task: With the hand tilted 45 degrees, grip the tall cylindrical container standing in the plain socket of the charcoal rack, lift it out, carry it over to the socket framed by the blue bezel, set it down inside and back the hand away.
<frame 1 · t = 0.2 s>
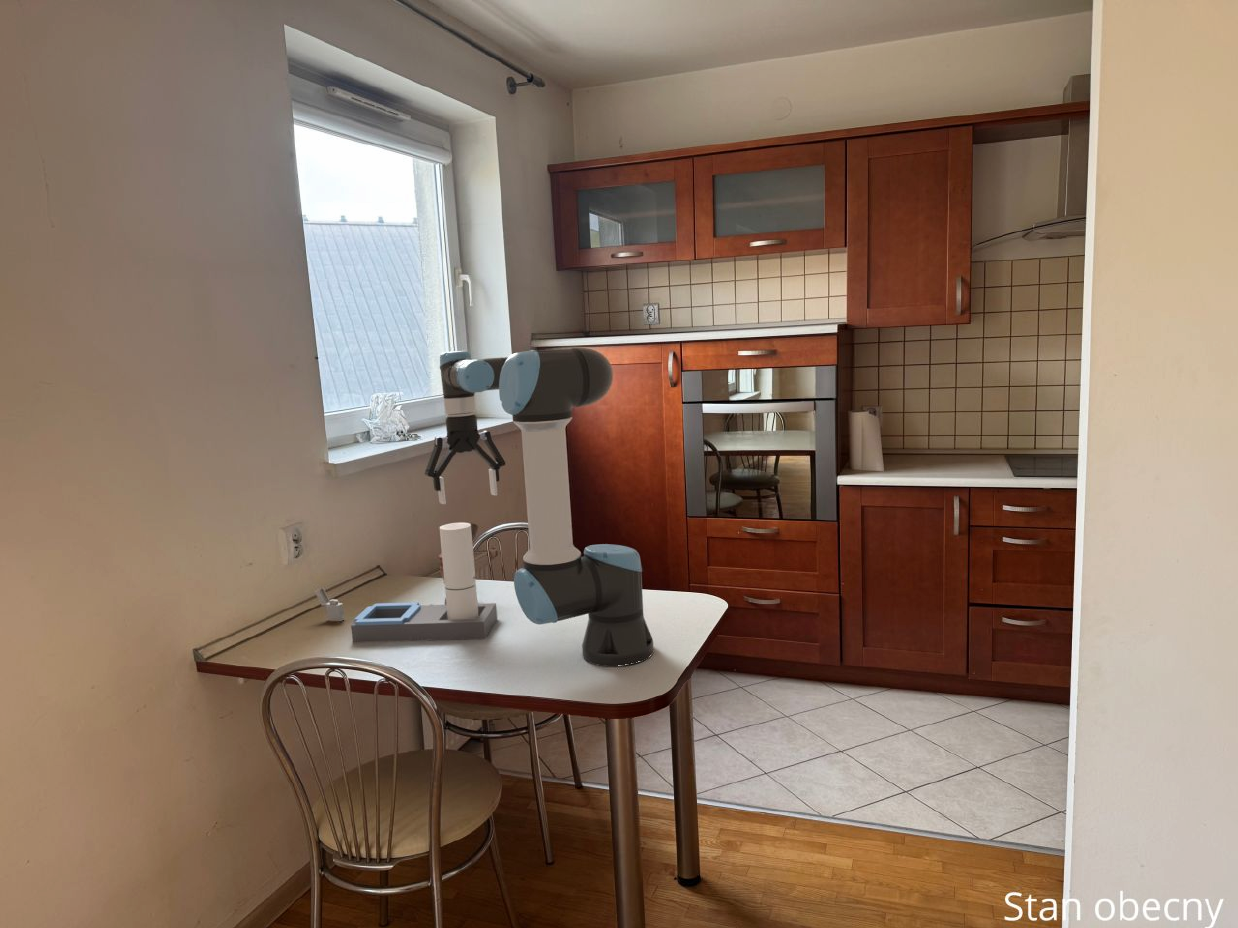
hand: (468, 499, 211), 28 cm above the table, tool pointing down, fingers open, 13 cm apart
mortar and pestle: (463, 601, 221), on the table
socket rack: (426, 630, 200), on the table
cylindrical container: (464, 630, 199), resting in socket rack
lighter: (331, 620, 211), on the table
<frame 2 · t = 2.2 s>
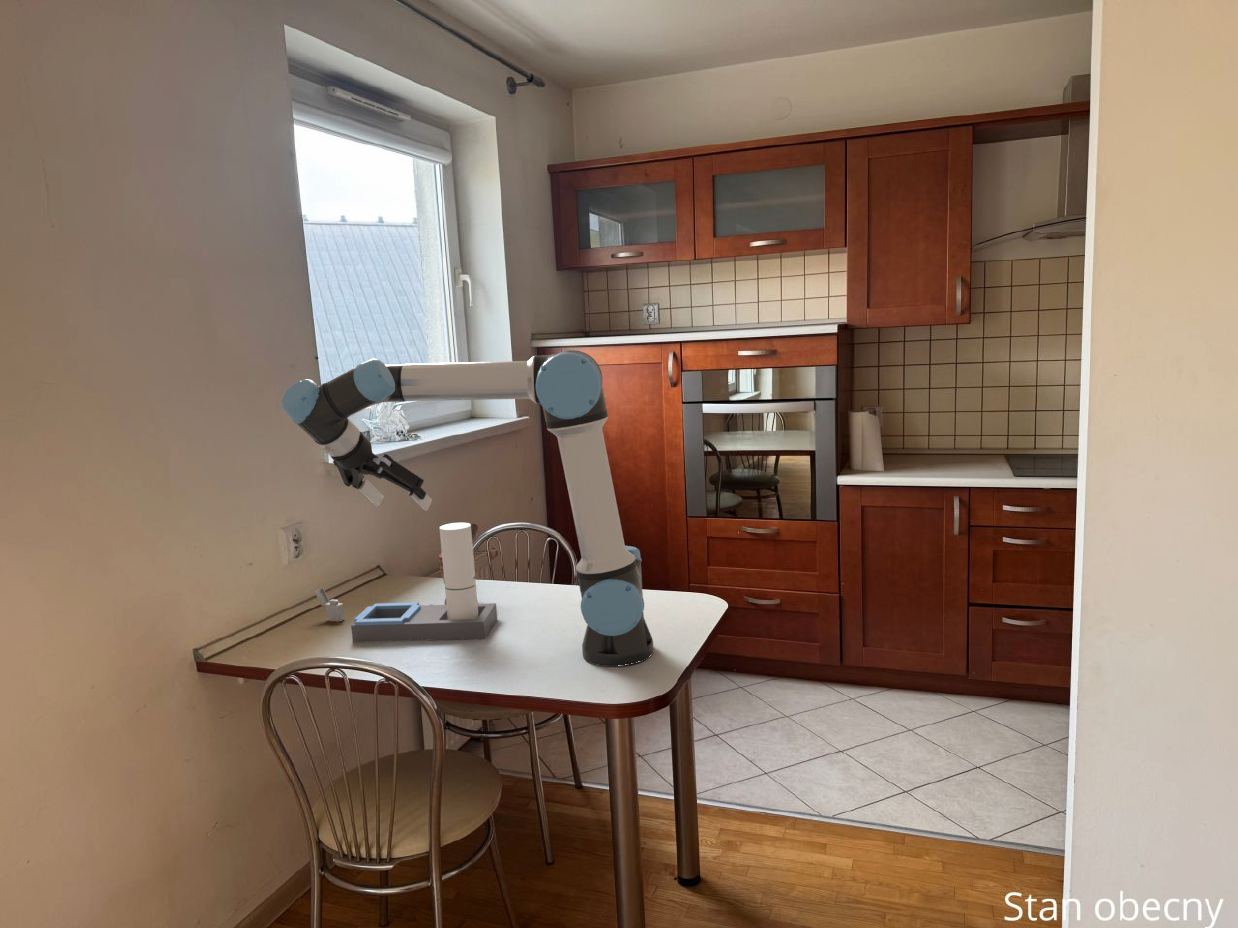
hand: (404, 503, 181), 34 cm above the table, tool tilted 45°, fingers open, 13 cm apart
nothing on the table moved.
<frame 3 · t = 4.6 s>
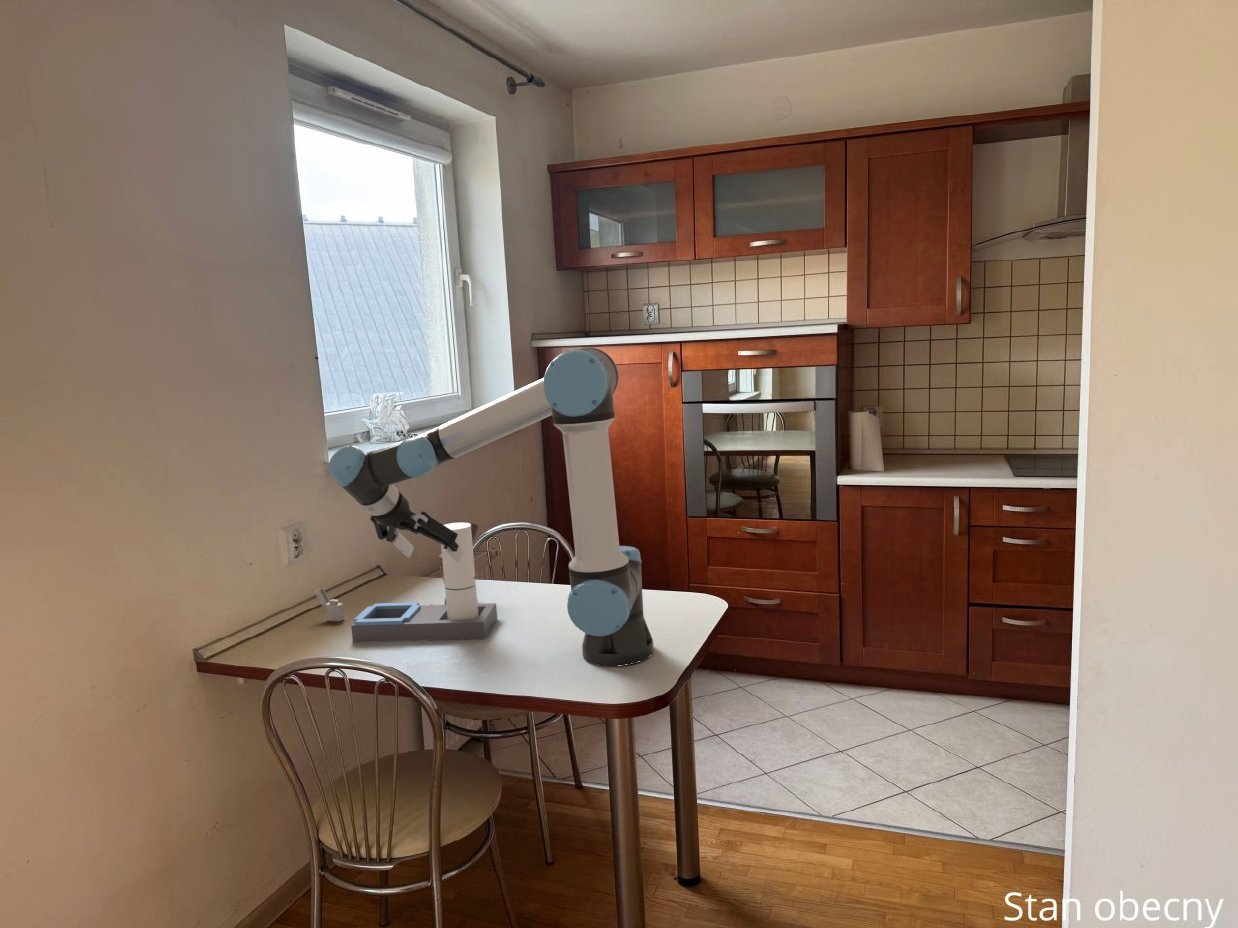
hand: (435, 554, 190), 20 cm above the table, tool tilted 45°, fingers open, 13 cm apart
nothing on the table moved.
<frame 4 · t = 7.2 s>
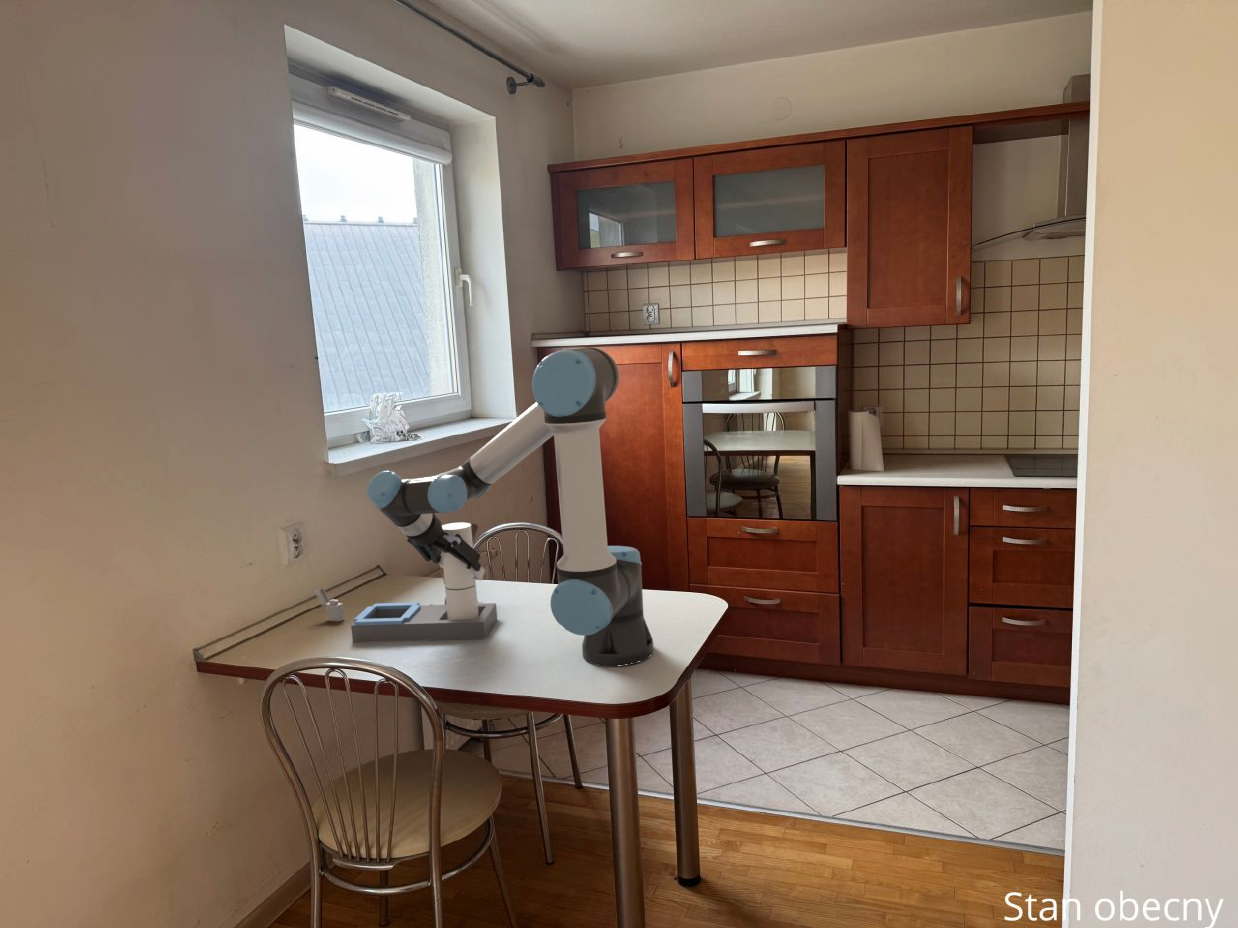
hand: (468, 573, 200), 13 cm above the table, tool tilted 45°, fingers closed on cylindrical container, 7 cm apart
cylindrical container: (464, 629, 199), resting in socket rack, touching gripper
everything else where it was.
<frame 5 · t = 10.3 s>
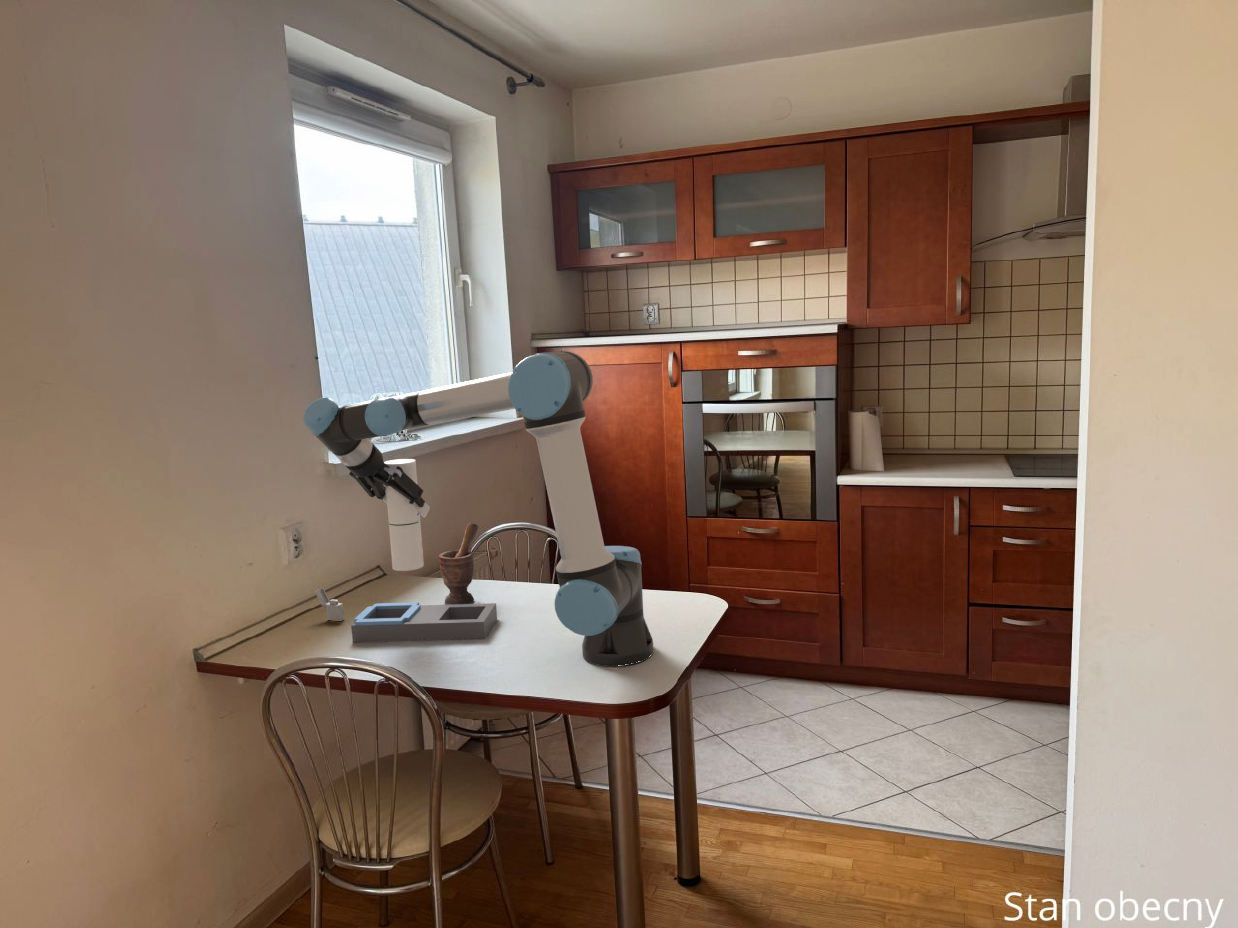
hand: (413, 511, 199), 28 cm above the table, tool tilted 45°, fingers closed on cylindrical container, 7 cm apart
cylindrical container: (408, 567, 198), point 15 cm above the table, touching gripper
everything else where it was.
when the fingers open (14 cm above the table, at t = 13.6 s): cylindrical container drops 1 cm, resting in socket rack.
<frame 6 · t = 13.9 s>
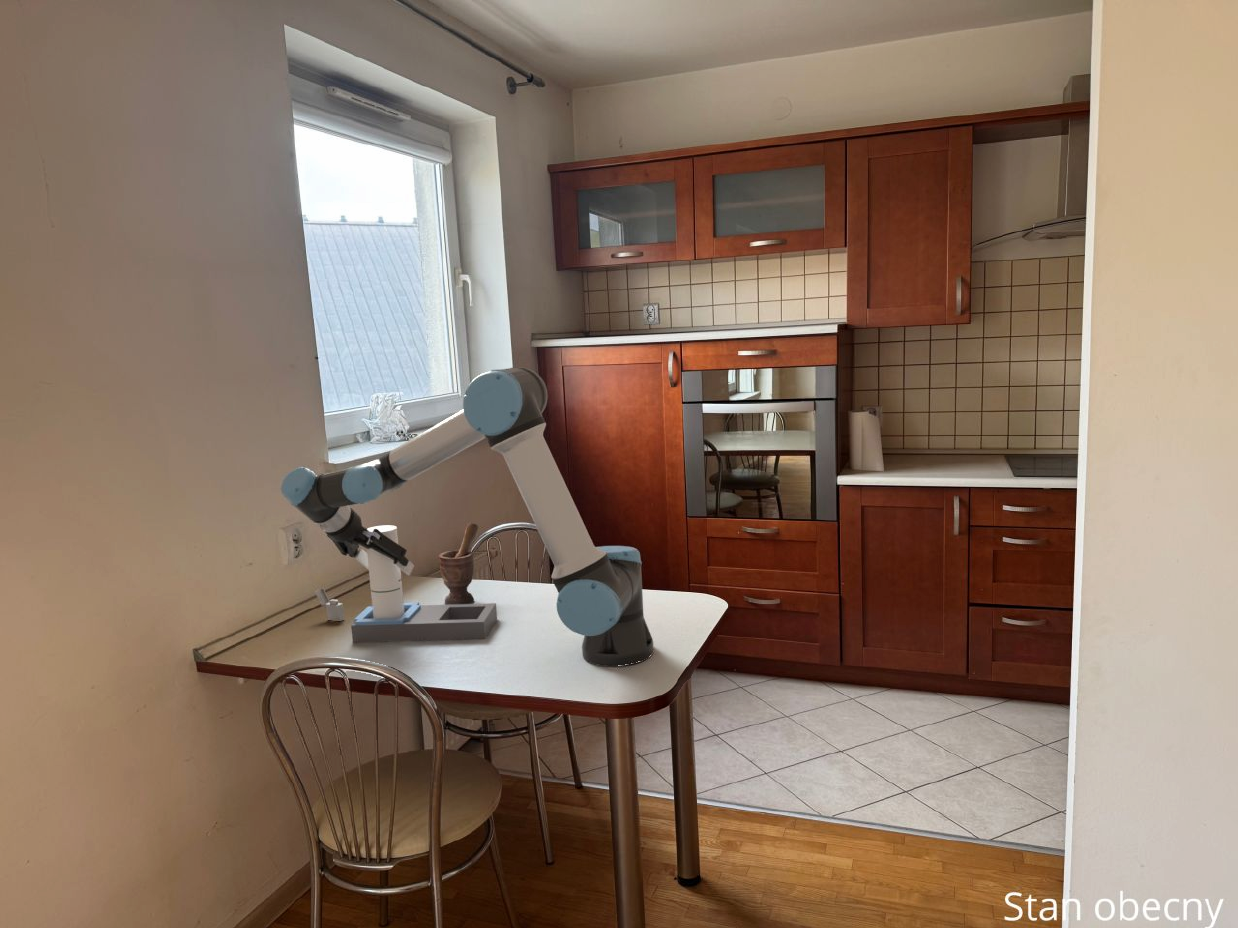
hand: (392, 568, 201), 15 cm above the table, tool tilted 45°, fingers open, 10 cm apart
cylindrical container: (390, 632, 200), resting in socket rack
everything else where it was.
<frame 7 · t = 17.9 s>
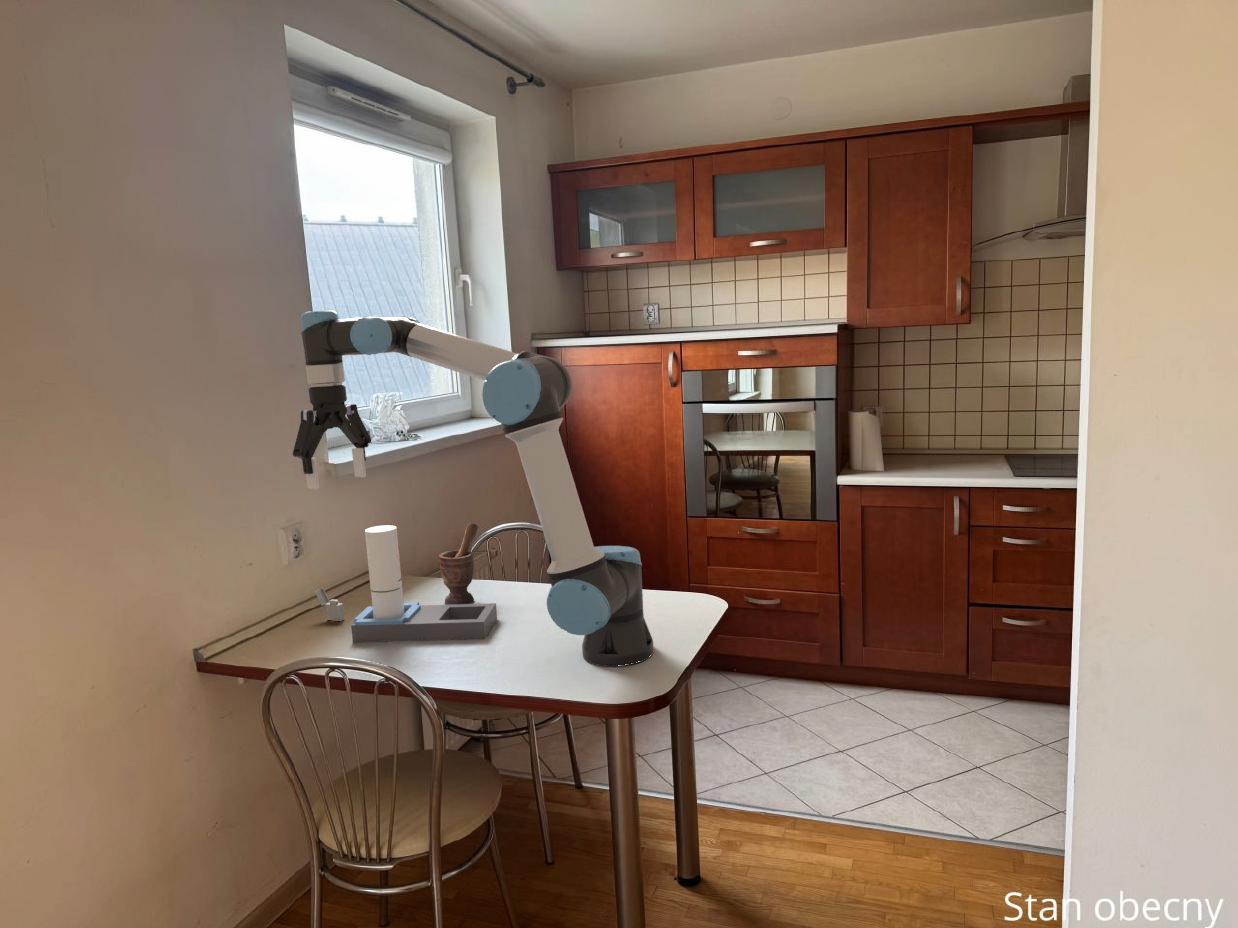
hand: (337, 482, 183), 38 cm above the table, tool pointing down, fingers open, 13 cm apart
nothing on the table moved.
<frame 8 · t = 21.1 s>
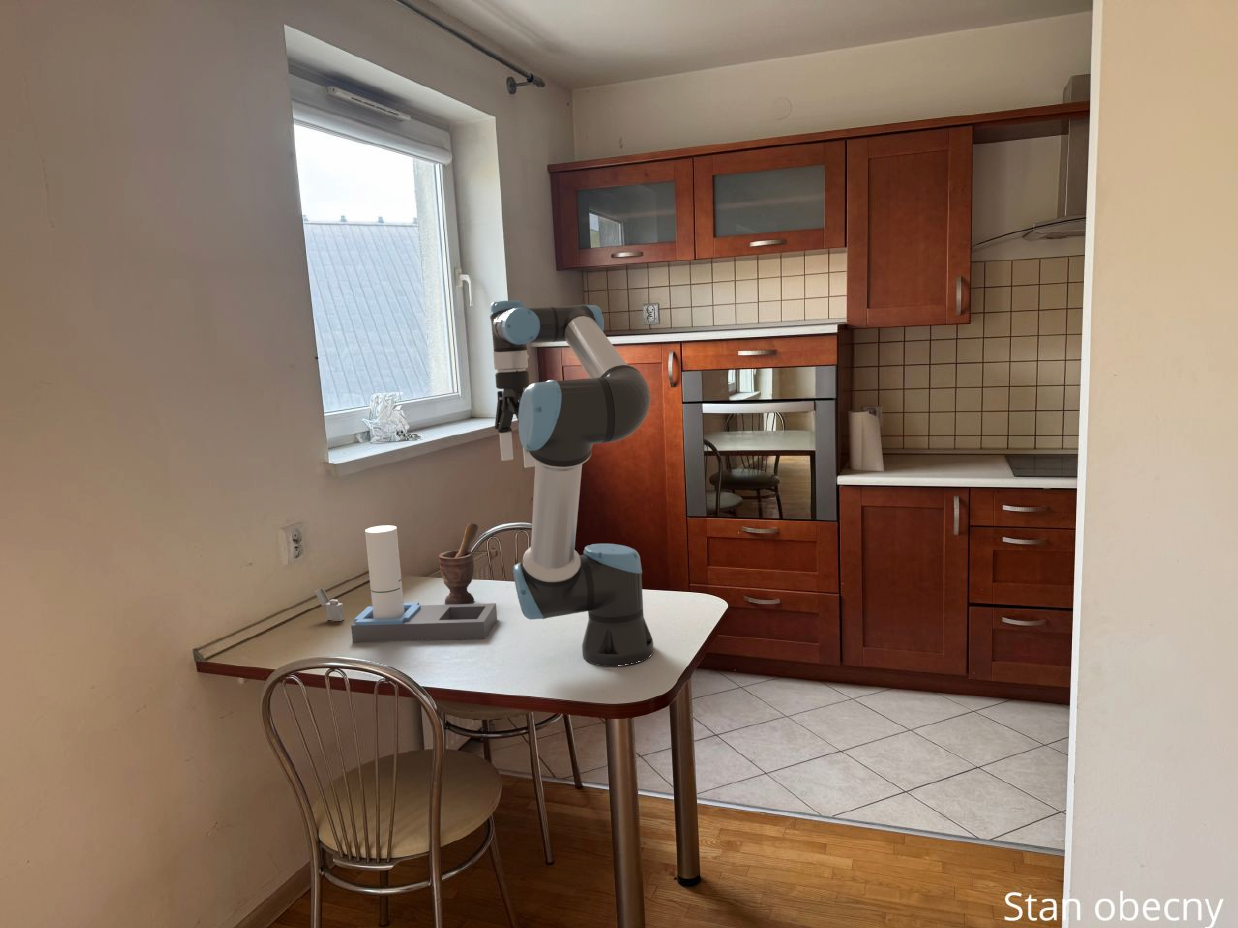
hand: (518, 463, 194), 39 cm above the table, tool pointing down, fingers open, 13 cm apart
nothing on the table moved.
at the end: cylindrical container 0.4 cm from the target spot on the socket rack, point 0.0 cm above the socket rack's base; cylindrical container tilted 0°; the gripper is holding nothing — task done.
